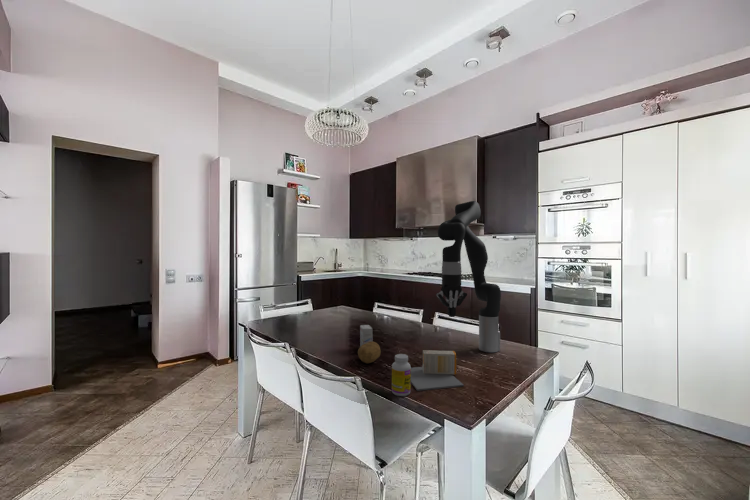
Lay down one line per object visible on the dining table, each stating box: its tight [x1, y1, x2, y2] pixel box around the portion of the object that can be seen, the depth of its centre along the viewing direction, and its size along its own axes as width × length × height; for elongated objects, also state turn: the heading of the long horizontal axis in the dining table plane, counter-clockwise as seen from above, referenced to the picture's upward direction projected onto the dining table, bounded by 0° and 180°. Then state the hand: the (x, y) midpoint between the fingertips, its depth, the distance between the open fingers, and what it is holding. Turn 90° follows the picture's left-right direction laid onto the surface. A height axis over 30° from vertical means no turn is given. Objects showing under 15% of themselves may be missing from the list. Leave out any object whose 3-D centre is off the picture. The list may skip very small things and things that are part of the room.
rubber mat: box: [411, 366, 465, 392], centre depth 125 cm, size 18×20×1 cm
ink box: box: [359, 324, 374, 348], centre depth 158 cm, size 9×5×12 cm, turn 13°
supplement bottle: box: [391, 353, 412, 397], centre depth 112 cm, size 7×7×13 cm
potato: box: [357, 341, 382, 364], centre depth 142 cm, size 10×14×8 cm
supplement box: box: [422, 349, 457, 375], centre depth 129 cm, size 8×5×13 cm
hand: (451, 316), depth 127 cm, fingers closed
